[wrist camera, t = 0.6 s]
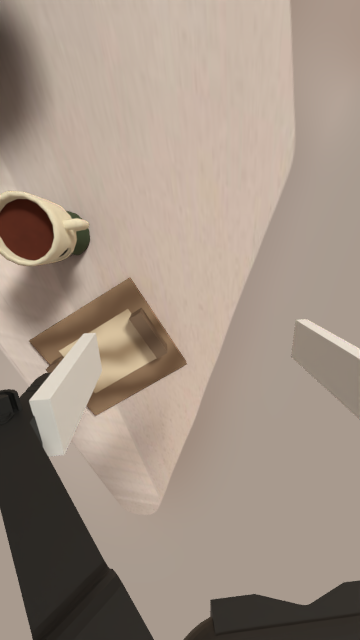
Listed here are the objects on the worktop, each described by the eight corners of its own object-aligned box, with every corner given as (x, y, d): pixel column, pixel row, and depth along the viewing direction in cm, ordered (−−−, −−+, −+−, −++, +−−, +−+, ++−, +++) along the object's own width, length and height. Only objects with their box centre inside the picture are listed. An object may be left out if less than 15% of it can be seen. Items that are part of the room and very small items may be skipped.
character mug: (42, 264, 37) (-18, 275, 25) (25, 214, 35) (-50, 200, 23) (111, 252, 37) (86, 257, 25) (99, 202, 35) (64, 180, 23)
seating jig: (32, 338, 41) (18, 348, 37) (130, 277, 39) (126, 281, 35) (96, 411, 46) (91, 427, 42) (186, 361, 44) (188, 372, 40)
